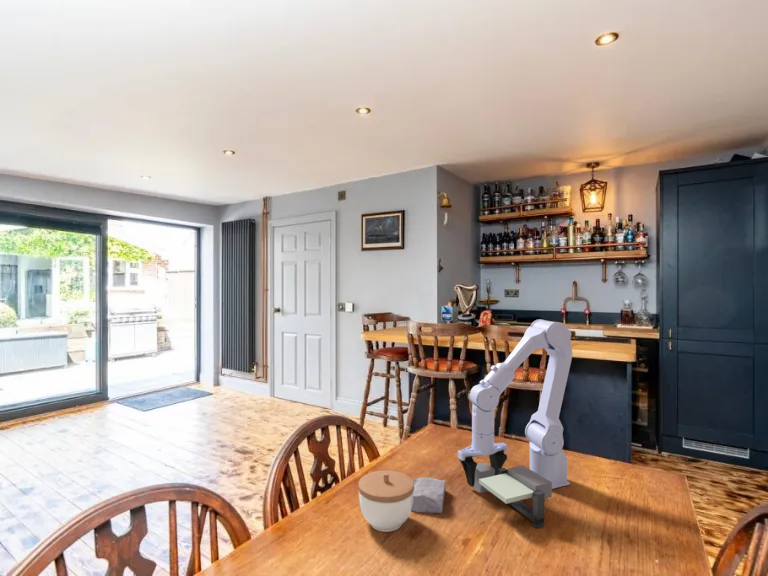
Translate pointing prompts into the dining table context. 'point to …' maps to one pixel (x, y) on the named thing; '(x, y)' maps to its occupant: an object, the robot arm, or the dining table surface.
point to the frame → (532, 514)
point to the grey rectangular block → (482, 475)
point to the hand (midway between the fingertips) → (482, 482)
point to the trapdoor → (517, 484)
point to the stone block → (428, 495)
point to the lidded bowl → (386, 499)
